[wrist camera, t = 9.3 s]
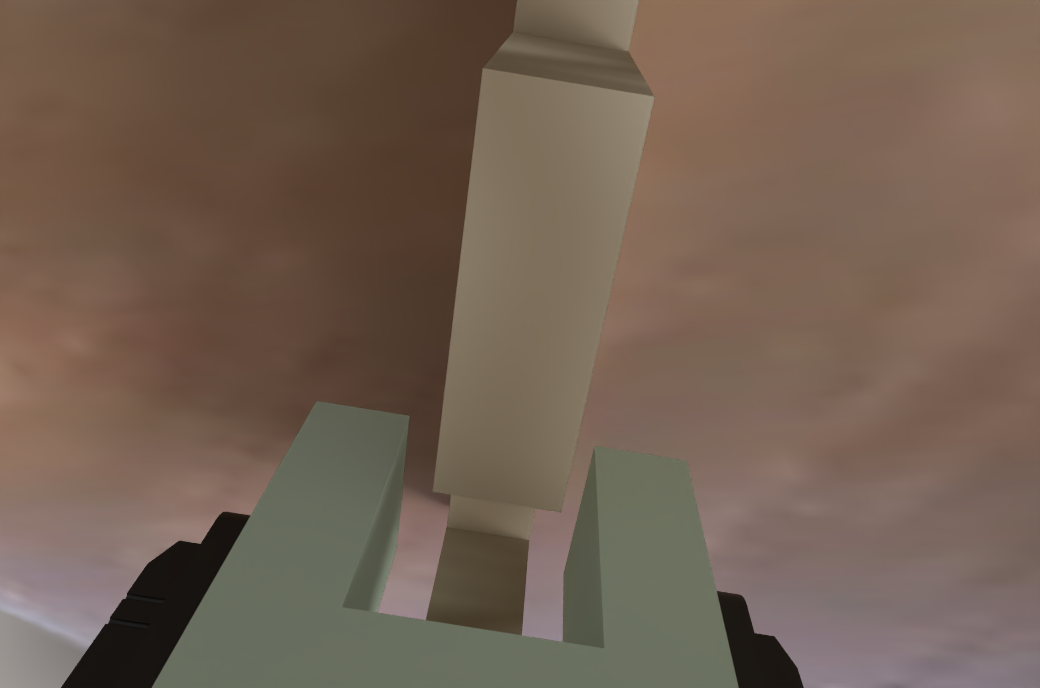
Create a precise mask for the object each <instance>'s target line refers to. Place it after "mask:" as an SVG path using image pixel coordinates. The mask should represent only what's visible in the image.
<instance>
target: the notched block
mask: <svg viewBox="0 0 1040 688" xmlns="http://www.w3.org/2000/svg"><path fill="white" fill-rule="evenodd" d="M409 418H410V416H408V415H401V414H395V413H389V412H383V411H377V410H370V409H364V408H358V407H352V406H346V405H340V404H333V403H327V402H321V401H316V403H315V404H314V406H313V408H312V410H311V411H310V413H309V415H308V417H307V418H306V420H305V422H304V424H303V425H302V427H301V429H300V431H299V432H298V434H297V436H296V438H295V439H294V441H293V443H292V445H291V446H290V448H289V450H288V451H287V453H286V455H285V457H284V458H283V460H282V462H281V464H280V465H279V467H278V469H277V471H276V472H275V474H274V476H273V478H272V479H271V481H270V483H269V485H268V486H267V488H266V490H265V491H264V493H263V495H262V497H261V498H260V500H259V502H258V504H257V505H256V507H255V509H254V511H253V512H252V514H251V516H250V518H249V519H248V521H247V523H246V525H245V526H244V528H243V530H242V532H241V533H240V535H239V537H238V538H237V540H236V542H235V544H234V545H233V547H232V549H231V551H230V552H229V554H228V556H227V558H226V559H225V561H224V563H223V565H222V566H221V568H220V570H219V572H218V573H217V575H216V577H215V578H214V580H213V582H212V584H211V585H210V587H209V589H208V591H207V592H206V594H205V596H204V598H203V599H202V601H201V603H200V605H199V606H198V608H197V610H196V612H195V613H194V615H193V617H192V619H191V620H190V622H189V624H188V625H187V627H186V629H185V631H184V632H183V634H182V636H181V638H180V639H179V641H178V643H177V645H176V646H175V648H174V650H173V652H172V653H171V655H170V657H169V659H168V660H167V662H166V664H165V665H164V667H163V669H162V671H161V672H160V674H159V676H158V678H157V679H156V681H155V683H154V685H153V686H152V688H739V687H738V683H737V678H736V674H735V669H734V665H733V661H732V656H731V652H730V648H729V643H728V639H727V634H726V630H725V626H724V621H723V617H722V613H721V608H720V604H719V599H718V595H717V591H716V586H715V582H714V578H713V573H712V569H711V564H710V560H709V556H708V551H707V547H706V543H705V538H704V534H703V529H702V525H701V521H700V516H699V512H698V508H697V503H696V499H695V494H694V490H693V486H692V481H691V477H690V473H689V468H688V464H687V461H686V460H680V459H674V458H668V457H661V456H655V455H649V454H643V453H637V452H630V451H624V450H618V449H612V448H606V447H599V446H595V447H594V451H593V455H592V459H591V463H590V467H589V472H588V476H587V480H586V484H585V488H584V492H583V496H582V500H581V504H580V508H579V513H578V517H577V521H576V525H575V529H574V533H573V537H572V541H571V545H570V550H569V554H568V558H567V562H566V566H565V570H564V587H563V642H561V641H554V640H548V639H541V638H535V637H529V636H522V635H516V634H510V633H503V632H497V631H491V630H484V629H478V628H472V627H465V626H459V625H452V624H446V623H440V622H433V621H427V620H421V619H414V618H408V617H402V616H395V615H389V614H383V613H378V609H379V606H380V602H381V599H382V596H383V592H384V589H385V586H386V582H387V579H388V575H389V572H390V569H391V565H392V562H393V559H394V555H395V552H396V548H397V541H398V531H399V521H400V510H401V500H402V490H403V480H404V469H405V459H406V449H407V438H408V428H409Z"/></svg>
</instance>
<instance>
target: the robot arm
mask: <svg viewBox="0 0 1040 688" xmlns="http://www.w3.org/2000/svg"><path fill="white" fill-rule="evenodd" d="M249 518H250V515H244V514H238V513H231V512H223V513H221V514H220V515H219V516H218V518H217V519H216V521H215V522H214V524H213V525H212V527H211V528H210V530H209V532H208V533H207V535H206V536H205V538H204V540H203V541H202V543H201V544H197V543H191V542H185V541H178V542H177V543H175V544H174V545H173V546H171V547H170V548H169V549H167V550H166V551H164V552H163V553H162V554H160V555H159V556H158V557H156V558H155V559H153V560H152V561H151V562H149V563H148V564H147V565H146V567H145V568H144V570H143V571H142V573H141V574H140V575H139V577H138V578H137V580H136V581H135V583H134V584H133V585H132V587H131V588H130V590H129V591H128V593H127V597H126V599H123V600H122V601H121V603H120V604H119V605H118V607H117V608H116V610H115V611H114V613H113V614H112V615H111V617H110V621H109V623H108V624H105V625H104V627H103V628H102V630H101V631H100V633H99V634H98V635H97V637H96V638H95V640H94V641H93V643H92V644H91V645H90V647H89V648H88V650H87V651H86V653H85V654H84V655H83V657H82V658H81V660H80V661H79V663H78V664H77V666H76V667H75V668H74V670H73V671H72V673H71V674H70V675H69V677H68V678H67V680H66V681H65V683H64V684H63V685H62V687H61V688H152V686H153V685H154V683H155V681H156V679H157V678H158V676H159V674H160V672H161V671H162V669H163V667H164V665H165V664H166V662H167V660H168V659H169V657H170V655H171V653H172V652H173V650H174V648H175V646H176V645H177V643H178V641H179V639H180V638H181V636H182V634H183V632H184V631H185V629H186V627H187V625H188V624H189V622H190V620H191V619H192V617H193V615H194V613H195V612H196V610H197V608H198V606H199V605H200V603H201V601H202V599H203V598H204V596H205V594H206V592H207V591H208V589H209V587H210V585H211V584H212V582H213V580H214V578H215V577H216V575H217V573H218V572H219V570H220V568H221V566H222V565H223V563H224V561H225V559H226V558H227V556H228V554H229V552H230V551H231V549H232V547H233V545H234V544H235V542H236V540H237V538H238V537H239V535H240V533H241V532H242V530H243V528H244V526H245V525H246V523H247V521H248V519H249ZM717 595H718V599H719V604H720V608H721V613H722V617H723V621H724V626H725V630H726V634H727V639H728V643H729V648H730V652H731V656H732V661H733V665H734V669H735V674H736V678H737V683H738V687H739V688H804V687H803V684H802V681H801V678H800V675H799V672H798V669H797V667H796V665H795V664H794V663H793V661H792V660H791V659H790V657H789V656H788V654H787V653H786V652H785V650H784V649H783V648H782V646H781V645H780V643H779V642H778V641H777V639H776V638H775V636H769V635H762V634H756V633H754V630H753V626H752V622H751V619H750V615H749V611H748V608H747V604H746V601H745V599H744V598H743V596H741V595H738V594H732V593H726V592H719V591H717Z"/></svg>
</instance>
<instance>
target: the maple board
mask: <svg viewBox="0 0 1040 688" xmlns="http://www.w3.org/2000/svg"><path fill="white" fill-rule="evenodd" d="M638 2H639V0H517V4H516V12H515V19H514V27H513V33H512V34H511V35H510V36H509V37H508V39H507V40H506V41H505V42H504V43H503V45H502V46H501V47H500V48H499V49H498V51H497V52H496V53H495V54H494V55H493V56H492V58H491V59H490V60H489V61H488V62H487V64H486V65H485V66H484V67H483V70H482V79H481V87H480V95H479V104H478V112H477V121H476V129H475V138H474V146H473V155H472V163H471V172H470V180H469V188H468V197H467V205H466V214H465V222H464V231H463V239H462V248H461V256H460V265H459V273H458V281H457V290H456V298H455V307H454V315H453V324H452V332H451V341H450V349H449V358H448V366H447V375H446V383H445V391H444V400H443V408H442V417H441V425H440V434H439V442H438V451H437V459H436V468H435V476H434V484H433V492H436V493H442V494H448V495H451V499H450V507H449V514H448V522H447V528H446V533H445V537H444V542H443V546H442V551H441V555H440V559H439V564H438V568H437V573H436V577H435V582H434V586H433V591H432V595H431V600H430V604H429V608H428V613H427V617H426V620H427V621H433V622H440V623H446V624H452V625H459V626H465V627H472V628H478V629H484V630H491V631H497V632H503V633H510V634H516V635H522V624H523V611H524V598H525V585H526V572H527V560H528V547H529V538H530V533H531V528H532V523H533V518H534V513H535V508H536V509H542V510H548V511H555V512H561V511H562V506H563V502H564V497H565V493H566V488H567V484H568V480H569V475H570V471H571V466H572V462H573V457H574V453H575V448H576V444H577V440H578V435H579V431H580V426H581V422H582V417H583V413H584V408H585V404H586V400H587V395H588V391H589V386H590V382H591V377H592V373H593V368H594V364H595V360H596V355H597V351H598V346H599V342H600V337H601V333H602V328H603V324H604V320H605V315H606V311H607V306H608V302H609V297H610V293H611V288H612V284H613V280H614V275H615V271H616V266H617V262H618V257H619V253H620V248H621V244H622V240H623V235H624V231H625V226H626V222H627V217H628V213H629V208H630V204H631V200H632V195H633V191H634V186H635V182H636V177H637V173H638V168H639V164H640V160H641V155H642V151H643V146H644V142H645V137H646V133H647V128H648V124H649V120H650V115H651V111H652V106H653V102H654V97H655V96H654V95H653V93H652V91H651V90H650V88H649V86H648V84H647V83H646V81H645V79H644V78H643V76H642V74H641V72H640V71H639V69H638V67H637V66H636V64H635V62H634V60H633V59H632V57H631V55H630V54H629V52H628V51H629V46H630V41H631V37H632V32H633V27H634V22H635V17H636V12H637V7H638Z"/></svg>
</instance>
